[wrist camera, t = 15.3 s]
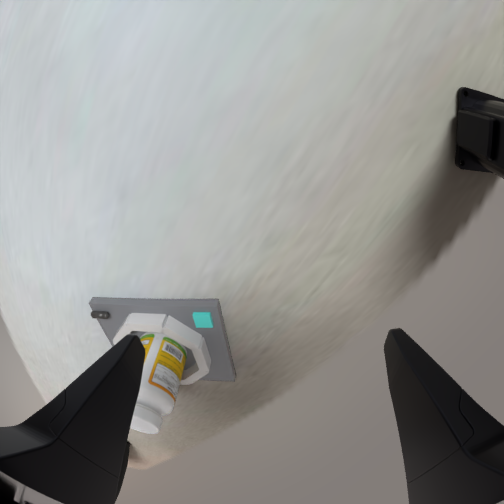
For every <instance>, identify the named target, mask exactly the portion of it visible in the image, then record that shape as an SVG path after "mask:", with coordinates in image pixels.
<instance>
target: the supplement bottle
mask: <svg viewBox="0 0 504 504" xmlns="http://www.w3.org/2000/svg"><path fill="white" fill-rule="evenodd" d="M140 340H141V342H142V344H143V346H144V348H145V360H144V366H143V372H142V379H141V385H140V390H139V394H138V398H137V402H136V405H135V409H134V413H133V417H132V421H131V425H130V428H132V429H134V430H136V431H139V432H143V433H148V434H157V433H159V431H160V428H161V424H162V417H161V416H166V415H168V414H170V413H171V412H172V410H173V408H174V405H175V401H176V396H177V392H178V388H179V385H180V381H181V377H182V373H183V370H184V366H185V362H186V358H187V350H186V347H185V346H184V345H182V344H180V343H179V342H177V341H175V340H173V339H172V338H170V337H168V336H167V335H165V334H163V333H158V332H146V333H144V334H143V335H142V336H141V337H140Z"/></svg>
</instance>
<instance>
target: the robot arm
mask: <svg viewBox="0 0 504 504" xmlns="http://www.w3.org/2000/svg"><path fill="white" fill-rule="evenodd" d="M464 91H465V93H466V95H465V96H464ZM461 160H462V163H461V164H460V161H461ZM455 164H456V166H457V167H459V168H460V169H466V170H475V171H483V172H491V173H495V174H497V175H498V176H500V177H502V178H503V179H504V99H501V98H498V97H495V96H492V95H489V94H486V93H483V92H480V91H477V90H473V89H470V88H466V87H461V88H460V89H459V91H458V126H457V147H456V158H455ZM384 353H385V360H386V367H387V375H388V382H389V389H390V393H391V398H392V402H393V407H394V411H395V416H396V421H397V426H398V431H399V436H400V442H401V447H402V453H403V459H404V465H405V472H406V479H407V488H408V497H409V504H504V426H503V425H502V424H501V423H499V422H498V421H497V420H496V419H495V418H493V417H492V416H491V415H490V414H489V413H488V412H486V411H485V410H484V409H483V408H482V407H481V406H480V405H479V404H477V403H476V402H475V401H474V400H473V399H472V398H471V397H470V396H469V395H468V394H467V393H466V392H465V391H464V390H463V389H462V388H461V387H460V386H459V385H458V384H457V383H456V381H455V380H453V378H452V377H450V375H448V373H446V372H445V371H444V369H443V368H442V367H441V366H440V365H438V364H437V363H436V362H435V361H434V360H433V359H432V358H431V357H430V356H429V355H428V354H427V353H426V352H425V351H424V350H423V349H422V348H421V347H420V346H419V345H418V344H417V343H416V342H415V341H414V340H413V339H412V338H410V336H408V335H407V334H406V333H405V332H404V331H403V330H402V329H400V328H397V329H391V330H390V331H389V332H388V335H387V338H386V341H385V345H384ZM144 360H145V348H144V346H143V344H142V342H141V340H140V338H139V336H137V335H134V334H127V335H126V336H124V337H123V338H122V339H121V340H120V341H119V342H118V343H116V344H115V345H114V346H113V347H112V348H111V349H110V350H108V351H107V352H106V353H105V354H104V355H103V356H102V357H100V358H99V359H98V360H97V361H96V362H95V363H94V364H92V365H91V366H90V367H89V368H88V369H87V370H86V371H85V372H83V373H82V374H81V375H80V376H79V377H78V378H77V379H76V380H74V381H73V382H72V383H71V384H70V385H69V386H68V387H67V388H66V389H64V390H63V391H62V392H61V393H60V394H59V395H58V396H56V397H55V398H54V399H53V400H52V401H51V402H49V403H48V404H47V405H45V406H44V407H43V408H42V409H40V410H39V411H37V412H36V413H35V414H33V415H32V416H31V417H29V418H28V419H27V420H25V421H24V422H22V423H21V424H19V425H16V426H11V427H0V504H115V498H116V492H117V487H118V481H119V476H120V471H121V466H122V461H123V456H124V451H125V447H126V443H127V438H128V434H129V430H130V425H131V421H132V417H133V413H134V409H135V405H136V402H137V398H138V394H139V390H140V385H141V379H142V372H143V366H144Z"/></svg>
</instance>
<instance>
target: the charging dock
mask: <svg viewBox="0 0 504 504" xmlns="http://www.w3.org/2000/svg"><path fill="white" fill-rule="evenodd" d="M89 305H90V307H91V308H92V310H93V311H92V312H91V316H92V318H97V320H98V322H99V323H100V325H101V327H102V329H103V331H104V332H105V334H106V336H107V338H108V339H109V341H110V343H111V345H112V346H114V345H115V344H116V343H118V342H119V341H120V340H121V339H122V338H123V337H124V336H126V335H127V334H134V335H137V336H139V338H140V337H141V336H142V335H143V334H144V333H146V332H158V333H163V334H165V335H167V336H168V337H170V338H172V339H173V340H175V341H177V342H179V343H180V344H182V345H184V346H185V347H186V350H187V358H186V362H185V366H184V370H183V373H182V377H181V381H180V384H181V385H188V384H190V385H191V384H192V383H194V382H196V381H197V380H211V381H235V377H236V373H235V369H234V365H233V361H232V356H231V352H230V348H229V344H228V339H227V335H226V331H225V326H224V322H223V317H222V313H221V308H220V303H219V299H132V298H100V297H93V298H92V299H91V301H90V302H89Z"/></svg>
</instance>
